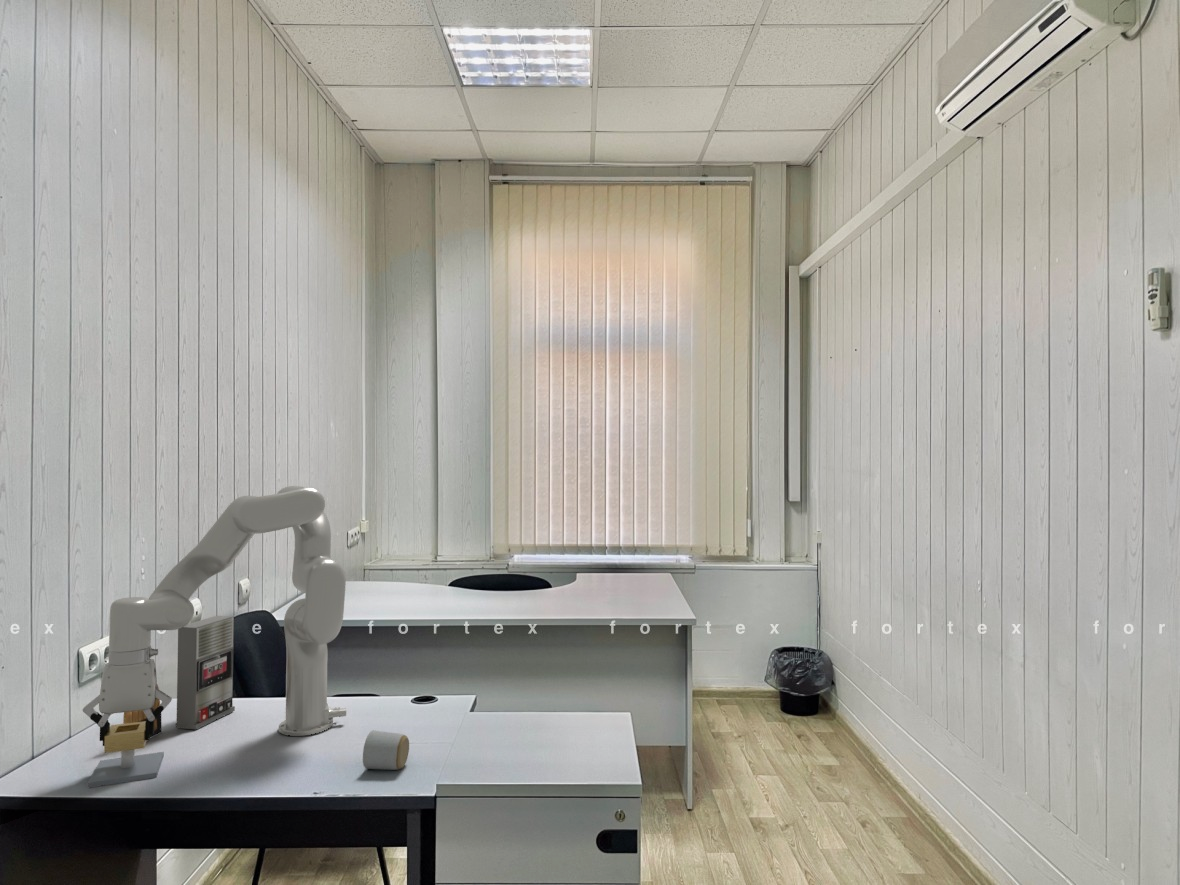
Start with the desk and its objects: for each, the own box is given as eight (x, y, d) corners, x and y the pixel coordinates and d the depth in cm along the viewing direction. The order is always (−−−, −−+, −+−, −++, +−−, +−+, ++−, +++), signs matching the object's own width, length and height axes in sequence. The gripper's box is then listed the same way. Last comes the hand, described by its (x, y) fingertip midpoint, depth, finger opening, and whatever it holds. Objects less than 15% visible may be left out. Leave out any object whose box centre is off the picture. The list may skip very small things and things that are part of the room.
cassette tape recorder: (197, 730, 178) (198, 628, 179) (175, 728, 179) (177, 626, 180) (235, 711, 191) (236, 616, 192) (215, 710, 193) (216, 615, 193)
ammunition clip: (127, 749, 166) (128, 696, 167) (120, 748, 167) (121, 696, 167) (161, 732, 177) (162, 682, 177) (155, 731, 177) (155, 682, 177)
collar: (148, 736, 159) (149, 720, 159) (143, 748, 153) (144, 731, 153) (110, 741, 156) (111, 725, 156) (104, 753, 150) (104, 736, 150)
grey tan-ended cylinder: (399, 775, 152) (400, 738, 153) (361, 774, 153) (362, 737, 153) (415, 756, 163) (415, 721, 163) (379, 755, 163) (380, 720, 164)
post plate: (163, 756, 162) (164, 729, 162) (156, 777, 151) (156, 748, 152) (100, 765, 157) (100, 737, 158) (87, 787, 146) (88, 757, 147)
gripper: (178, 648, 162) (175, 729, 161) (85, 656, 155) (82, 740, 154) (174, 656, 155) (171, 741, 155) (76, 665, 148) (73, 753, 147)
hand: (127, 740), depth 154 cm, fingers closed on collar, 7 cm apart
